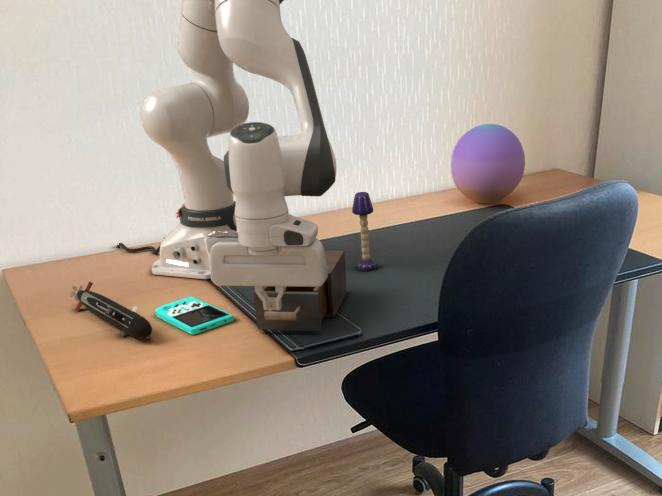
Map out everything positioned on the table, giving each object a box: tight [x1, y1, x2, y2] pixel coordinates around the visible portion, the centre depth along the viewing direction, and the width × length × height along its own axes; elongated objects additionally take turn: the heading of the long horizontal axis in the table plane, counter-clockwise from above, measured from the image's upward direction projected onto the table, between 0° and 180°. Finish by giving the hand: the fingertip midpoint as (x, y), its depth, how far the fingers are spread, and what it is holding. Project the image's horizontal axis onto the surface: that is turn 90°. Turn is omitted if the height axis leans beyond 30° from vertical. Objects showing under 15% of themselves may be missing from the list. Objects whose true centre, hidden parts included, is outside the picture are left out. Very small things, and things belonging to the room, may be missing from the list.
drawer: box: [252, 279, 329, 332], centre depth 160 cm, size 17×12×7 cm
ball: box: [450, 123, 526, 204], centre depth 225 cm, size 20×20×20 cm
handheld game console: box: [154, 296, 235, 336], centre depth 169 cm, size 10×16×1 cm, turn 41°
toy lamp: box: [351, 191, 377, 272], centre depth 184 cm, size 5×5×17 cm
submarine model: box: [69, 280, 153, 340], centre depth 166 cm, size 31×7×10 cm
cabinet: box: [323, 250, 348, 319], centre depth 170 cm, size 14×14×9 cm
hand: (273, 309), depth 146 cm, fingers closed
